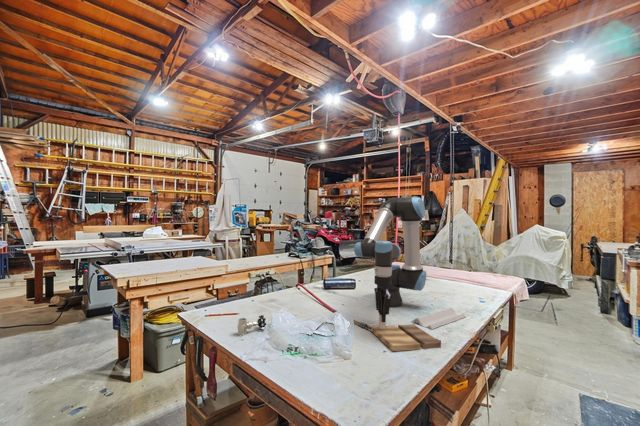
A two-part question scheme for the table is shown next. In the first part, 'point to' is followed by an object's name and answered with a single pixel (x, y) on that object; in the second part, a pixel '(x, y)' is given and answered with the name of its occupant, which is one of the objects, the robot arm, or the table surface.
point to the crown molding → (438, 318)
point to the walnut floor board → (420, 336)
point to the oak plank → (395, 338)
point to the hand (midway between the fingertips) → (382, 328)
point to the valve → (249, 324)
